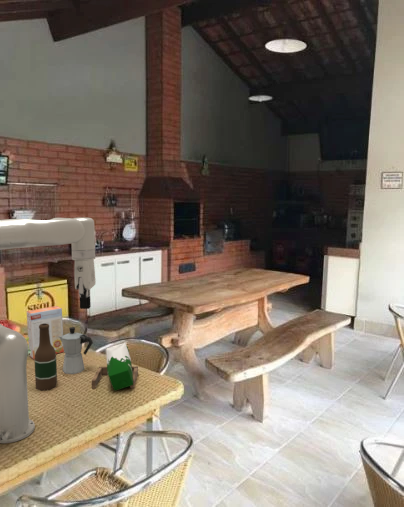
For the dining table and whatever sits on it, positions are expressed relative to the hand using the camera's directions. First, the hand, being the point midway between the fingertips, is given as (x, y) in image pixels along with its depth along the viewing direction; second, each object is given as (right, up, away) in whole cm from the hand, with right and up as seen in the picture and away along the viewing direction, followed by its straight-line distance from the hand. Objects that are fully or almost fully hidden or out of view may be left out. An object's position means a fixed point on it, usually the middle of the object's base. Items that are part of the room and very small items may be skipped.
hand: (85, 308), depth 144 cm
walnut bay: (+6, -31, +21) cm, 37 cm away
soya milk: (+10, -28, +10) cm, 31 cm away
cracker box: (-30, -27, +47) cm, 62 cm away
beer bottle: (-18, -32, +15) cm, 39 cm away
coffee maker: (-12, -30, +30) cm, 44 cm away
